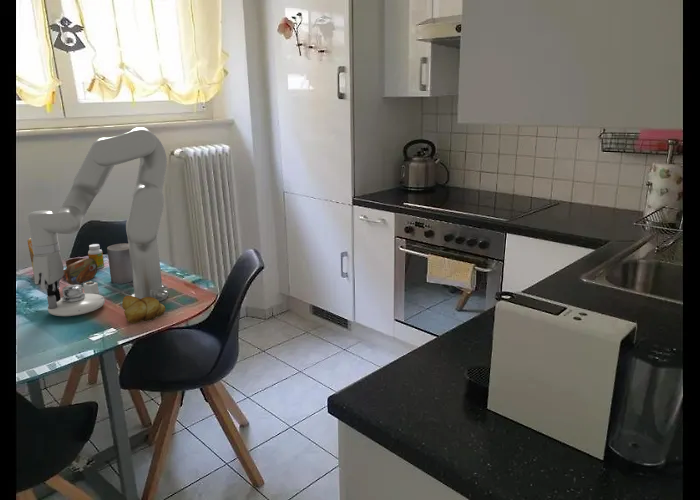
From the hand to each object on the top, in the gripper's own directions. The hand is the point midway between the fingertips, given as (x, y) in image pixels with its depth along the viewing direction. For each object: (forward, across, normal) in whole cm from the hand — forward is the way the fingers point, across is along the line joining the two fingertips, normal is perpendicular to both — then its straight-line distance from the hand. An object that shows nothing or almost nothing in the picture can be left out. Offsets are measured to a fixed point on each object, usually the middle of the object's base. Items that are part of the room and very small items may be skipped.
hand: (54, 300), depth 170 cm
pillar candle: (+4, -30, +11) cm, 33 cm away
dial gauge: (+4, -16, +5) cm, 17 cm away
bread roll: (+4, +7, +32) cm, 33 cm away
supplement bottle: (+4, -46, -6) cm, 47 cm away
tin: (+4, -29, -5) cm, 30 cm away
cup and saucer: (+4, -37, -10) cm, 38 cm away
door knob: (+1, -4, +4) cm, 6 cm away
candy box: (+4, -38, -23) cm, 44 cm away
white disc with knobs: (+4, -1, +7) cm, 8 cm away
